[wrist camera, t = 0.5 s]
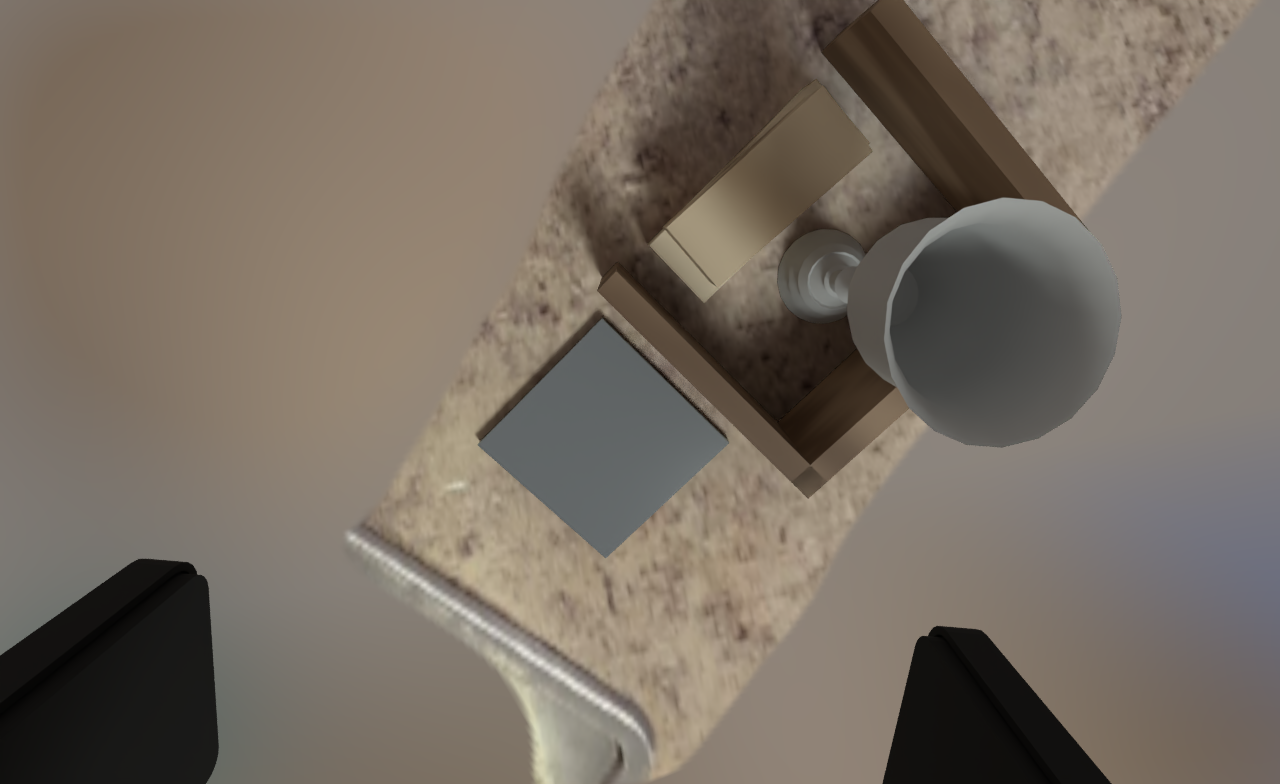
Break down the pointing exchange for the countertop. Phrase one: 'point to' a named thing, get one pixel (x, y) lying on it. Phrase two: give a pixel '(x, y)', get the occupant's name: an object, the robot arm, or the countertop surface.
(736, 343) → the countertop surface
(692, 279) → the offcut lower
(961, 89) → the brown wooden u-shaped frame
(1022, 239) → the chalice
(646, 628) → the countertop surface
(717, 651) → the countertop surface
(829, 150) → the offcut upper
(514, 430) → the slate tile
